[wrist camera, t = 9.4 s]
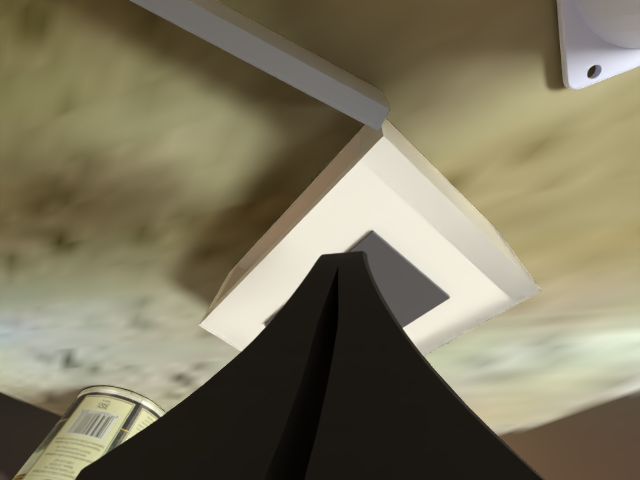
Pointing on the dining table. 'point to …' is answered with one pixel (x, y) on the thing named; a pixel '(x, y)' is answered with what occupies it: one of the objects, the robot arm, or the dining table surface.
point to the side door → (275, 56)
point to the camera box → (380, 247)
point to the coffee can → (89, 432)
